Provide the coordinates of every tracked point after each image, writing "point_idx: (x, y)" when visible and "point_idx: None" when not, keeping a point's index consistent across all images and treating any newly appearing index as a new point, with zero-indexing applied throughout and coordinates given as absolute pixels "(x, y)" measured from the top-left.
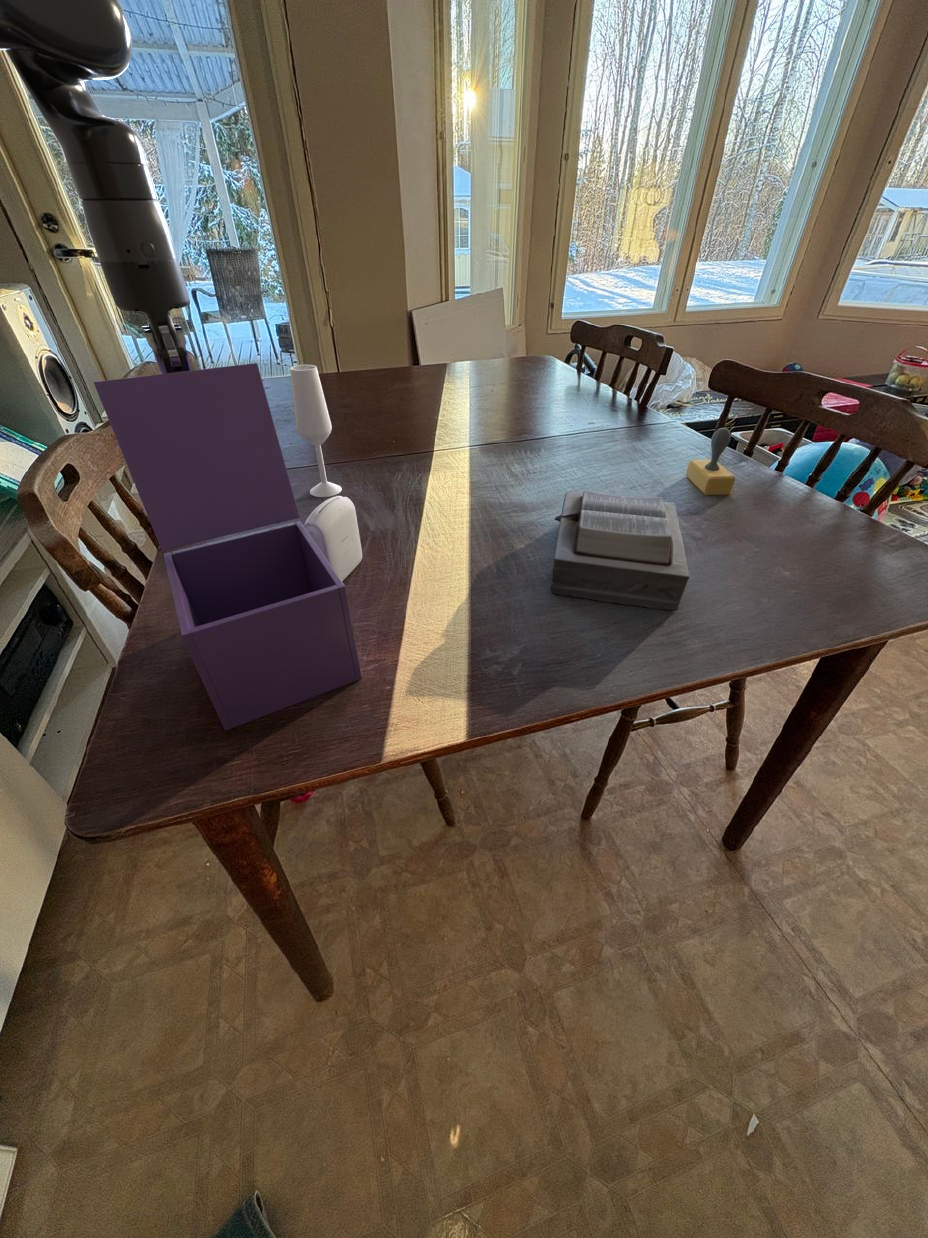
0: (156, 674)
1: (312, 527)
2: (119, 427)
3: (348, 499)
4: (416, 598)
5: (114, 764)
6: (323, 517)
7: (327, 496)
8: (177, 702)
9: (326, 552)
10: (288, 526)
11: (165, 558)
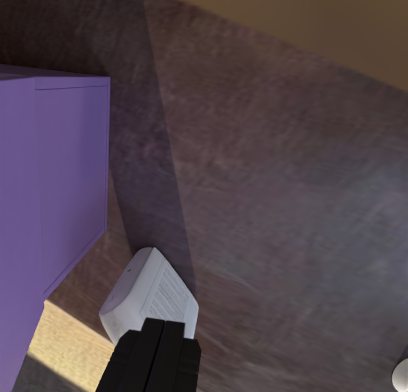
0: (75, 6)
1: (108, 308)
2: None
3: None
4: (62, 319)
5: None
6: (109, 334)
7: (396, 368)
8: (10, 19)
9: (111, 291)
10: None
11: (10, 75)
